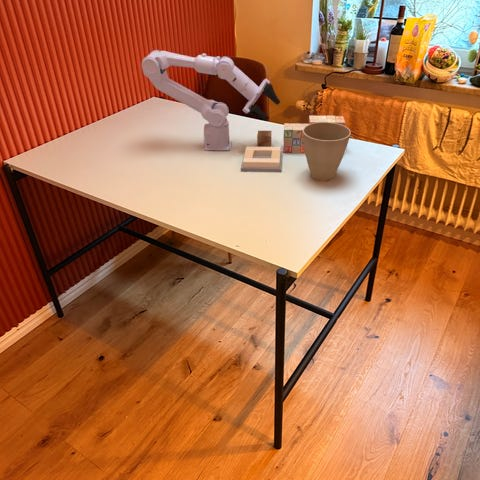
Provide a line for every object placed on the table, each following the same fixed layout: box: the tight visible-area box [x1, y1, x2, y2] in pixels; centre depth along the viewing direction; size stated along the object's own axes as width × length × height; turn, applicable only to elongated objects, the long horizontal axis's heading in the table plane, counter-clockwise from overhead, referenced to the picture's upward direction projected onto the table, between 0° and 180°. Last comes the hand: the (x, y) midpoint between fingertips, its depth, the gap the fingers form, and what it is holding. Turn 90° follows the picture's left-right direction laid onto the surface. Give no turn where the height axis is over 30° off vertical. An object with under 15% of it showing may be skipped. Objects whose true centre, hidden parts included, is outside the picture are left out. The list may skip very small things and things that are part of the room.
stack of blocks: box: [282, 115, 346, 154], centre depth 164 cm, size 21×6×12 cm, turn 84°
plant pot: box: [303, 122, 351, 182], centre depth 146 cm, size 15×15×16 cm
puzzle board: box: [240, 145, 284, 173], centre depth 159 cm, size 14×14×3 cm
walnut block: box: [256, 130, 272, 147], centre depth 168 cm, size 5×5×6 cm
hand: (273, 111), depth 162 cm, fingers open, 7 cm apart
